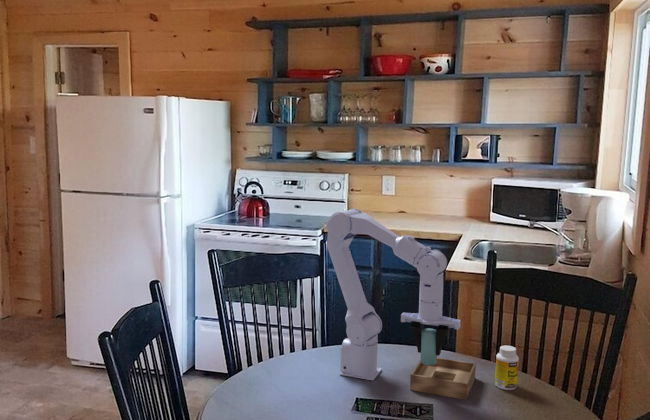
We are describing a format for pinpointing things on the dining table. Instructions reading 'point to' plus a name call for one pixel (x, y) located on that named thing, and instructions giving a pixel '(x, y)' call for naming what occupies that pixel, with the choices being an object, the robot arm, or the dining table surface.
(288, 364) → the dining table surface
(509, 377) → the supplement bottle
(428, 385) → the box
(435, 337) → the peg
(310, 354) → the dining table surface
